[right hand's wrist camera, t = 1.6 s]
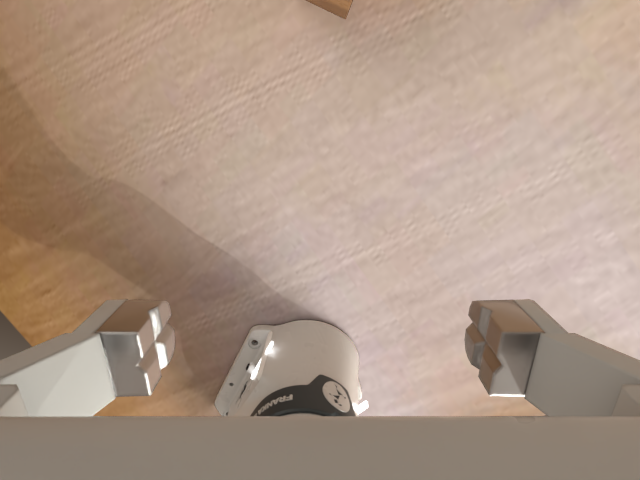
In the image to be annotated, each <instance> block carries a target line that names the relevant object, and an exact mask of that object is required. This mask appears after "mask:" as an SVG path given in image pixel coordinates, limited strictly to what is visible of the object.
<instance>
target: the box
mask: <svg viewBox="0 0 640 480" xmlns="http://www.w3.org/2000/svg"><path fill="white" fill-rule="evenodd" d="M306 1H308V2H310V3H312V4H315V5H317V6H319V7H321V8H323V9H325V10H327V11H329V12H331V13H333V14H335V15H337V16H340V17H342V18H344V19H346V17H347V14H348V12H349V9H350V7H351V4H352V1H353V0H306Z"/></svg>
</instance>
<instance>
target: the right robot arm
mask: <svg viewBox="0 0 640 480" xmlns="http://www.w3.org/2000/svg"><path fill="white" fill-rule="evenodd" d="M171 315H172V314H171V309H170V304H169V303H168V302H167V301H166V300H128V299H121V300H107V301H105V302H104V303H103V304H102V305H101V306H100V307H99V308H98V309H97V310H96V311H95V312H94V313H93V314H92V315H90V316H89V317H88V318H87V319H86V320H85V321H84V322H83V323H82V324H81V325H80V326H79V327H78V328H77V329H75V330H74V331H73V332H72V333H65V334H62V335H60V336H58V337H55V338H53V339H50V340H48V341H46V342H43V343H41V344H38V345H36V346H34V347H31V348H29V349H26V350H24V351H22V352H19V353H17V354H15V355H12V356H10V357H7V358H5V359H3V360H0V480H640V360H637V359H635V358H632V357H630V356H628V355H625V354H623V353H621V352H618V351H616V350H613V349H611V348H609V347H606V346H604V345H602V344H599V343H597V342H594V341H592V340H590V339H587V338H585V337H582V336H580V335H578V334H575V333H568V332H567V331H566V330H565V329H563V328H562V327H561V326H560V325H559V324H558V323H557V322H556V321H555V320H554V319H553V318H552V317H551V316H550V315H549V314H547V313H546V312H545V311H544V310H543V309H542V308H541V307H540V306H539V305H538V304H537V303H536V302H535V301H533V300H530V299H523V300H484V301H472V303H471V305H470V308H469V314H468V315H469V317H470V318H471V320H472V321H473V323H472V324H471V325H470V326H469V327H468V328H467V329H466V333H465V350H466V353H467V357H468V359H469V361H470V363H471V364H472V365H473V366H475V367H476V368H478V369H479V376H478V377H479V378H480V380H481V382H482V384H483V385H484V387H485V389H486V390H487V392H488V394H489V396H519V397H525V399H526V400H527V401H529V402H530V403H531V404H533V405H534V406H535V407H537V408H538V409H539V410H541V411H542V412H543V413H545V414H546V415H547V416H358V414H359V413H361V412H362V411H364V410H365V409H366V408H368V402H367V401H364V402H363V403H362V404H360V405H359V406H358V401H360V400H361V398H362V388H361V385H360V382H359V380H358V370H359V356H358V352H357V349H356V347H355V345H354V344H353V342H352V341H351V339H350V338H349V337H348V336H347V335H346V334H345V333H344V332H342V331H341V330H340V329H338V328H336V327H334V326H332V325H330V324H327V323H324V322H320V321H315V320H298V321H292V322H288V323H285V324H281V325H276V326H272V325H256V326H253V327H252V328H251V329H250V331H249V333H248V335H247V337H246V339H245V341H244V343H243V345H242V347H241V349H240V351H239V353H238V355H237V357H236V359H235V361H234V363H233V365H232V367H231V369H230V371H229V373H228V374H227V376H226V378H225V380H224V382H223V384H222V386H221V388H220V390H219V392H218V394H217V396H216V399H215V407H216V408H217V410H218V412H219V413H220V414H221V415H222V416H93V415H94V414H96V413H97V412H98V411H100V410H101V409H102V408H103V407H105V406H106V405H107V404H109V403H110V402H111V401H113V400H114V399H115V397H121V396H151V394H152V392H153V391H154V389H155V387H156V385H157V384H158V382H159V380H160V378H161V377H162V376H161V369H162V368H164V367H165V366H167V365H168V364H169V362H170V361H171V359H172V357H173V353H174V349H175V332H174V329H173V328H172V327H171V326H170V325H169V324H168V323H167V321H168V320H169V318H170V317H171ZM253 340H256V341H257V342H254V341H253Z"/></svg>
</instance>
